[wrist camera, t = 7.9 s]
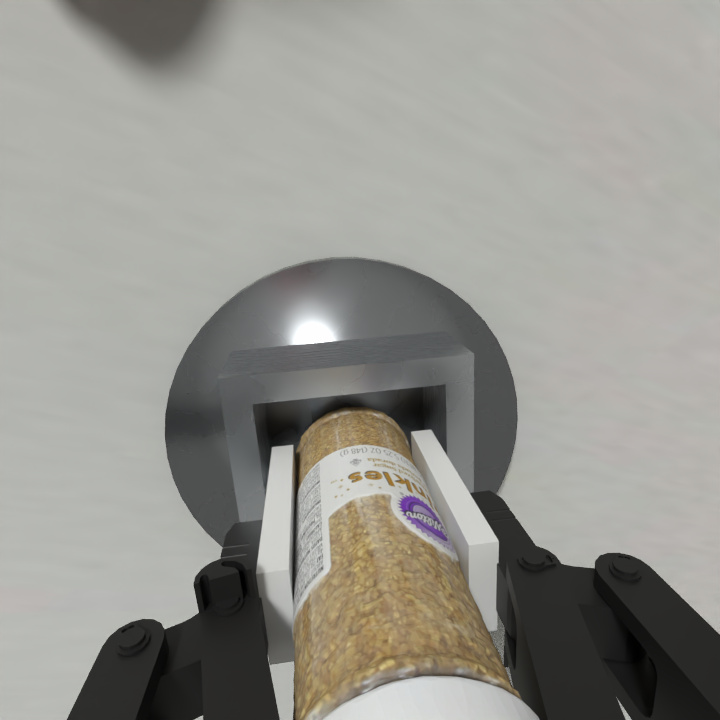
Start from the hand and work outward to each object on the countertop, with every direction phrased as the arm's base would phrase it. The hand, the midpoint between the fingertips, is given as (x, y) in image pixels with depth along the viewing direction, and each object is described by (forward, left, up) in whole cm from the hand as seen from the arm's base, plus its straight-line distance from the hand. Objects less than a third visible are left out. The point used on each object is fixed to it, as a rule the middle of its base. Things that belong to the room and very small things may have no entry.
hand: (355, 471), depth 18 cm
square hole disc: (0, 0, -4) cm, 4 cm away
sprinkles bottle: (0, 0, -1) cm, 1 cm away
